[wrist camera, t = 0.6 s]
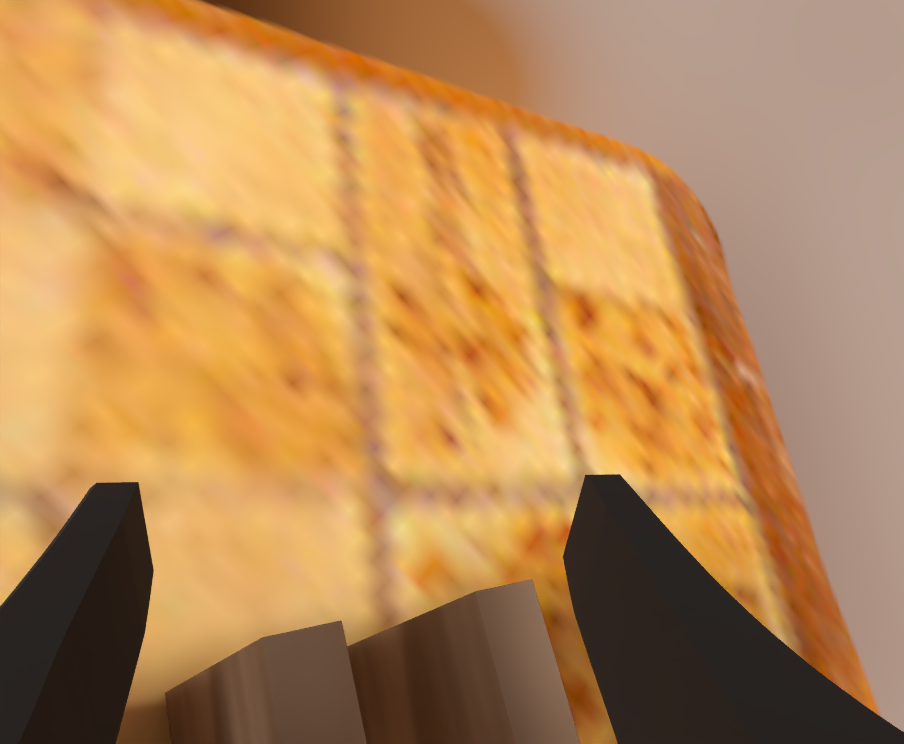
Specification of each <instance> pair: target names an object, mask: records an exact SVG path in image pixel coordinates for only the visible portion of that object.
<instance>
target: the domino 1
mask: <svg viewBox="0 0 904 744" xmlns="http://www.w3.org/2000/svg"><path fill="white" fill-rule="evenodd" d="M165 695H166V703H167V711H168V719H169V727H170V735H171V743H172V744H367V742H366V737H365V732H364V727H363V723H362V718H361V713H360V708H359V703H358V698H357V693H356V688H355V684H354V679H353V674H352V669H351V664H350V659H349V654H348V650H347V645H346V640H345V635H344V630H343V625H342V621H337V622H332V623H328V624H323V625H318V626H314V627H309V628H304V629H300V630H295V631H290V632H286V633H281V634H277V635H272V636H267V637H263V638H261V639H259V640H257V641H255V642H254V643H252V644H250V645H248V646H247V647H245V648H243V649H241V650H240V651H238V652H236V653H234V654H233V655H231V656H229V657H227V658H225V659H224V660H222V661H220V662H218V663H217V664H215V665H213V666H211V667H210V668H208V669H206V670H204V671H203V672H201V673H199V674H197V675H196V676H194V677H192V678H190V679H189V680H187V681H185V682H183V683H181V684H180V685H178V686H176V687H174V688H173V689H171V690H169V691H167V692H166V693H165Z"/></svg>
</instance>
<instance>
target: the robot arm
mask: <svg viewBox="0 0 904 744" xmlns="http://www.w3.org/2000/svg"><path fill="white" fill-rule="evenodd" d="M563 559H564V565H565V570H566V575H567V580H568V586H569V591H570V595H571V600H572V604H573V609H574V613H575V617H576V620H577V623H578V626H579V629H580V632H581V635H582V638H583V641H584V644H585V647H586V650H587V653H588V656H589V659H590V662H591V665H592V668H593V671H594V674H595V677H596V680H597V683H598V686H599V689H600V691H601V694H602V697H603V700H604V703H605V706H606V709H607V712H608V715H609V718H610V721H611V724H612V727H613V730H614V733H615V736H616V739H617V743H618V744H904V732H903V731H901V730H899V729H898V728H896V727H895V726H893V725H892V724H890V723H889V722H887V721H886V720H885V719H883V718H882V717H880V716H879V715H877V714H876V713H874V712H873V711H871V710H870V709H868V708H867V707H866V706H864V705H863V704H861V703H860V702H859V701H857V700H856V699H855V698H853V697H852V696H851V695H849V694H848V693H846V692H845V691H844V690H842V689H841V688H840V687H838V686H837V685H836V684H834V683H833V682H832V681H830V680H829V679H827V678H826V677H825V676H824V675H822V674H821V673H820V672H818V671H817V670H816V669H815V668H813V667H812V666H811V665H809V664H808V663H807V662H806V661H805V660H803V659H802V658H801V657H800V656H799V655H797V654H796V653H795V652H794V651H793V650H791V649H790V648H789V647H788V646H787V645H785V644H784V643H783V642H782V641H781V640H779V639H778V638H777V637H776V636H775V635H774V634H772V633H771V632H770V631H769V630H768V629H767V628H766V627H764V626H763V625H762V624H761V623H760V622H759V621H758V620H757V619H755V618H754V617H753V616H752V615H751V614H750V613H749V612H748V611H747V610H746V609H745V608H744V607H743V606H742V605H741V604H740V603H739V602H738V601H737V600H735V599H734V598H733V597H732V596H731V595H730V594H729V593H728V592H727V591H726V590H725V589H724V588H723V587H722V586H721V585H720V584H719V583H718V582H717V581H716V580H715V579H714V578H713V577H712V576H711V575H710V574H709V573H708V572H707V571H706V570H705V568H704V567H703V566H702V565H701V564H700V563H699V562H698V561H697V560H696V559H695V558H694V557H693V556H692V555H691V554H690V553H689V552H688V551H687V549H686V548H685V547H684V546H683V545H682V544H681V543H680V542H679V541H678V540H677V539H676V537H675V536H674V535H673V534H672V533H671V532H670V531H669V530H668V528H667V527H666V526H665V525H664V524H663V523H662V522H661V521H660V519H659V518H658V517H657V516H656V515H655V514H654V513H653V512H652V510H651V509H650V508H649V507H648V506H647V505H646V504H645V502H644V501H643V500H642V499H641V498H640V497H639V496H638V494H637V493H636V492H635V491H634V490H633V489H632V488H631V487H630V485H629V484H628V483H627V482H626V481H625V480H624V479H623V478H622V476H621V475H620V474H617V475H585V478H584V482H583V486H582V489H581V493H580V497H579V500H578V504H577V508H576V511H575V515H574V518H573V522H572V526H571V529H570V533H569V537H568V540H567V544H566V548H565V551H564V555H563ZM153 571H154V570H153V564H152V559H151V553H150V547H149V541H148V536H147V530H146V524H145V518H144V512H143V507H142V501H141V495H140V489H139V484H138V482H122V483H96V484H95V485H94V486H92V487H91V488H90V489H89V491H88V492H87V494H86V495H85V496H84V498H83V499H82V501H81V502H80V504H79V505H78V507H77V508H76V509H75V511H74V512H73V514H72V515H71V516H70V518H69V519H68V521H67V522H66V523H65V525H64V526H63V528H62V529H61V530H60V532H59V533H58V534H57V536H56V537H55V538H54V540H53V541H52V542H51V544H50V545H49V546H48V548H47V549H46V550H45V552H44V553H43V554H42V556H41V557H40V558H39V559H38V561H37V562H36V563H35V564H34V566H33V567H32V568H31V569H30V571H29V572H28V573H27V574H26V576H25V577H24V578H23V579H22V581H21V582H20V583H19V584H18V586H17V587H16V588H15V589H14V591H13V592H12V593H11V594H10V595H9V597H8V598H7V599H6V600H5V601H4V603H3V604H2V605H1V606H0V744H115V743H116V740H117V736H118V732H119V729H120V725H121V721H122V717H123V714H124V710H125V706H126V702H127V699H128V695H129V691H130V687H131V684H132V680H133V676H134V672H135V669H136V665H137V661H138V657H139V653H140V649H141V646H142V642H143V638H144V634H145V628H146V621H147V615H148V608H149V601H150V594H151V586H152V579H153Z"/></svg>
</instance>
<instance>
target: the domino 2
mask: <svg viewBox="0 0 904 744" xmlns="http://www.w3.org/2000/svg"><path fill="white" fill-rule="evenodd" d="M347 650H348V654H349V659H350V664H351V669H352V674H353V679H354V684H355V688H356V693H357V698H358V703H359V708H360V713H361V718H362V723H363V727H364V732H365V737H366V742H367V744H580V741H579V737H578V734H577V730H576V727H575V724H574V720H573V717H572V713H571V710H570V707H569V703H568V700H567V696H566V693H565V690H564V686H563V683H562V679H561V676H560V673H559V669H558V666H557V662H556V659H555V655H554V652H553V649H552V645H551V642H550V638H549V635H548V632H547V628H546V625H545V621H544V618H543V615H542V611H541V608H540V604H539V601H538V598H537V594H536V591H535V587H534V584H533V580H527V581H523V582H518V583H513V584H509V585H504V586H499V587H495V588H490V589H485V590H481V591H476V592H473V593H471V594H469V595H466V596H464V597H462V598H459V599H457V600H455V601H452V602H450V603H448V604H445V605H443V606H441V607H438V608H436V609H434V610H432V611H429V612H427V613H425V614H422V615H420V616H418V617H415V618H413V619H411V620H408V621H406V622H404V623H401V624H399V625H397V626H394V627H392V628H390V629H387V630H385V631H383V632H380V633H378V634H376V635H373V636H371V637H369V638H367V639H364V640H362V641H360V642H357V643H355V644H353V645H350V646H348V647H347Z"/></svg>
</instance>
